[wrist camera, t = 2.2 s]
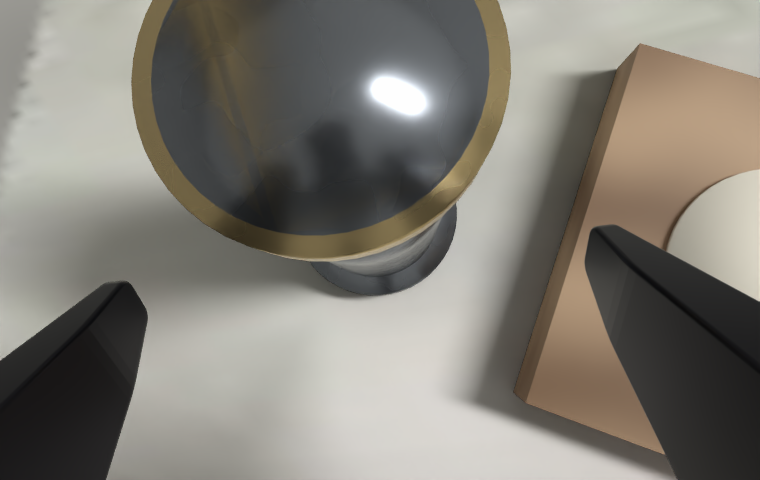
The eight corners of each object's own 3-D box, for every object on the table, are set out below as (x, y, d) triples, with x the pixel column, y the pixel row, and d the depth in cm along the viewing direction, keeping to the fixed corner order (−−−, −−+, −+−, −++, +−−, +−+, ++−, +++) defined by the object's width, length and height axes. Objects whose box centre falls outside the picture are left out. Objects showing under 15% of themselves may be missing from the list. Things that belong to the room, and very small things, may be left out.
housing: (411, 322, 19) (416, 368, 6) (273, 252, 20) (27, 165, 7) (480, 182, 20) (612, -35, 7) (343, 118, 21) (233, -187, 8)
